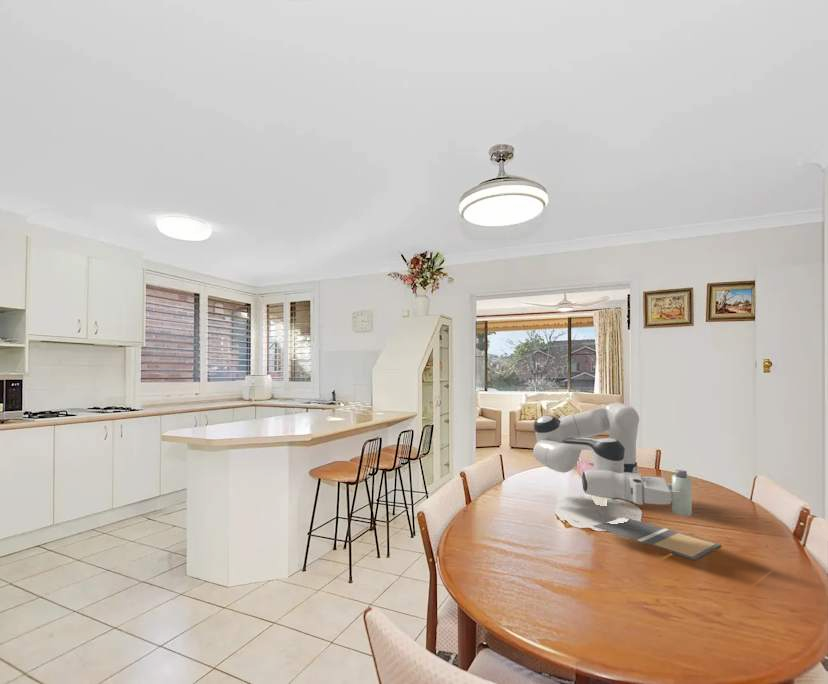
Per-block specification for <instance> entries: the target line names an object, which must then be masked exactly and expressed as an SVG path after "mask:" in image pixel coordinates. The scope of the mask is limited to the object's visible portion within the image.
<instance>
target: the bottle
mask: <svg viewBox="0 0 828 684" xmlns="http://www.w3.org/2000/svg"><path fill="white" fill-rule="evenodd" d="M671 484H672V490H673V491H685V492H686V493H687V498H675V499H673V498H671V507H672V511H671V512H672V513H674V514H675V515H678V516H692V514H693V513H692V512H693V509H692V478H691V477H690V476H688V472H687V470H683V469H675V474H673V475H671Z"/></svg>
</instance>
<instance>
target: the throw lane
mask: <svg viewBox="0 0 828 684" xmlns="http://www.w3.org/2000/svg"><path fill="white" fill-rule="evenodd" d="M593 527H594V528H596V529H599V530H601V531H606V532H609V533H613V534H615V535H617V536H618V535H619V536H621V537H624V538H628V539H631V540H633V541H637V542H641V543H643V544H645V545H650V546H652V547H655V548H658V549H662V550H664V551H668V552H671V554H674V555H677V556H680V557H682V558H686V559H689V560H693V561H696V560H698V559H700V558H702V557H703V556H705V555H707V554H709V553H710V552H712V551H714V550H716V549H718V548H720V547H721V544H720V543H717V542H714V541H710V540H706V539H703V538H700V537H695V536H692V535H689V534H684V533H682V532H678V531H674V530H671V529H669V528H663V527H660V526H658V525H654V524H650V523H647V522H643V521H640V520H636V519H633V518H629V520H628V521H627V522H624V523H618V524H610V523H604V522H602V523H599V524H596V525H593Z"/></svg>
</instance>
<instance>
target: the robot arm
mask: <svg viewBox="0 0 828 684" xmlns="http://www.w3.org/2000/svg"><path fill="white" fill-rule="evenodd" d="M639 423H640V417H639V414H638V412H637V411H636V409H635V408H634V407H632V406H631V405H628V404H626V403H622V402H617V401H616V402H613V403H609V404H605V405H602V406H599V407H596V408H593V409H589V410H584V411H580V412H577V413H576V412H575V413H573V414H568V415H566V416H562V417H559V418H557V417H556V416H554V415H549V414H548V415H542V416H540V417H539V416H538V417H537V418H536V420H535V421H534V422H533V430H534V432H535V438H536V443H535V445H534V447H533V449H532V454H533V457H534V458H535V460H536V461H537V462H539V463H540V464H541V465H542V466H544V467H545V468H548V469H550V470H552V471H555V472H557V473H562V474H564V473H568V472H571V471H572V470H573V469H574V468H575V467H576V466H577V464H578V463H577V461H578V462H579V460H580V456H581V453H582V451H591V453H592V455H593V469H588V470H587V469H585V470H583V472H582V477H581V483H582V489H583V492H584V493H585V494H587V495H590V496H593V497H598V498H604V499H605V498H606V499H619V500H623V501H628V502H629V501H630V502H633V503H634V504H637V505H644V504H649V505H663V506H664V505H672V498H673V499H675V498H687V493H686V492H685V491H673V490H672V483H668V482H667V481H666V478H664V477H658V476H642V473H639V472H638V462H637V449H636V448H637V446H636V445H637V437H638V429H639ZM606 432H608V433H609V435H608V437H606V438H605V437H604V438H592V437H595V436H599V435H601V434H603V433H606Z"/></svg>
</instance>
